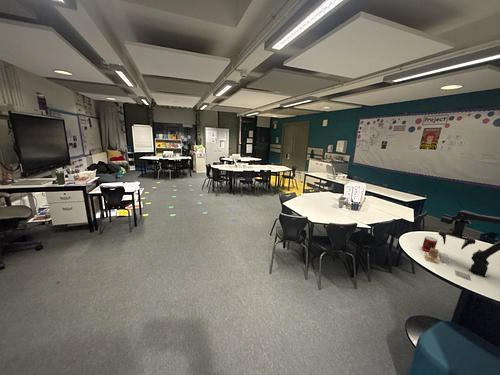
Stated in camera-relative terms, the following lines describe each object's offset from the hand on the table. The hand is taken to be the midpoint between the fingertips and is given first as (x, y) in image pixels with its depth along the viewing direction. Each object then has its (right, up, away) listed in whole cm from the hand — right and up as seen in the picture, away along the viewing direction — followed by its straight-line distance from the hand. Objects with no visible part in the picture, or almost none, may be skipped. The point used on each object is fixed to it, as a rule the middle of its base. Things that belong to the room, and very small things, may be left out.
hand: (452, 246), depth 149 cm
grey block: (-5, -11, +3) cm, 13 cm away
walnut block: (-13, -7, +2) cm, 15 cm away
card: (-6, -15, -13) cm, 21 cm away
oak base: (-13, -11, +3) cm, 17 cm away
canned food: (-4, -8, +17) cm, 19 cm away
